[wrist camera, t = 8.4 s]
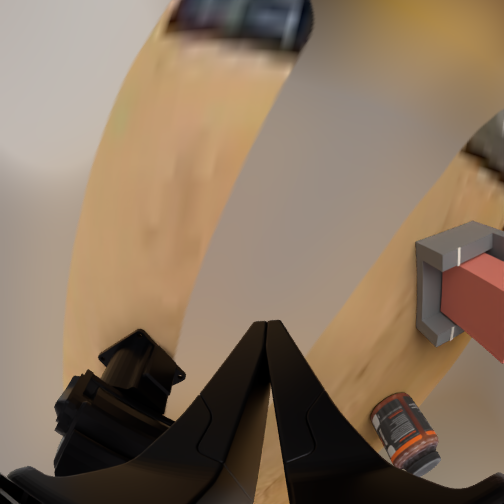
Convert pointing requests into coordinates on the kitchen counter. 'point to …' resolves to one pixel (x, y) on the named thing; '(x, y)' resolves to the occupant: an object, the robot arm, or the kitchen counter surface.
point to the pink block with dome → (477, 300)
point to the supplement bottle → (406, 434)
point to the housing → (441, 259)
